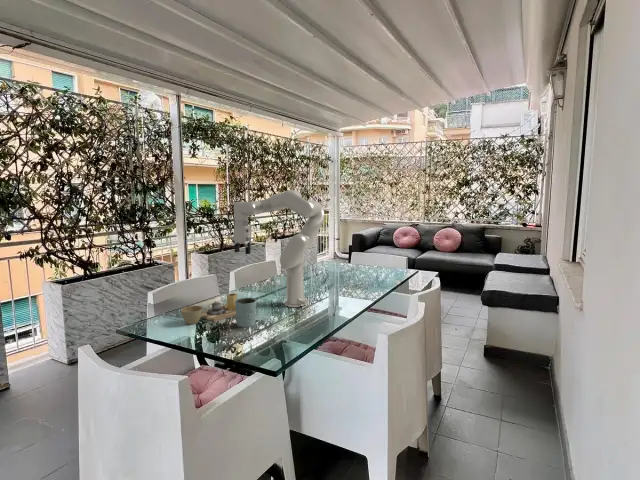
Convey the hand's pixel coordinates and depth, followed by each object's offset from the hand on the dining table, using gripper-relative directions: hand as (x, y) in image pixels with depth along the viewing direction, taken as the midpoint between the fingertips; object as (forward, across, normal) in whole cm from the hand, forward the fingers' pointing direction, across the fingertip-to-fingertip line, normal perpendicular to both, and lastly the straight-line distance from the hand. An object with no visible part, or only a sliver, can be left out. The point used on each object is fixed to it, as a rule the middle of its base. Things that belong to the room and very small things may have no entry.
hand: (242, 252), depth 221 cm
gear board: (+28, -10, +21) cm, 36 cm away
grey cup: (+28, -33, +26) cm, 51 cm away
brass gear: (+26, -10, +17) cm, 33 cm away
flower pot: (+28, -10, +41) cm, 51 cm away
